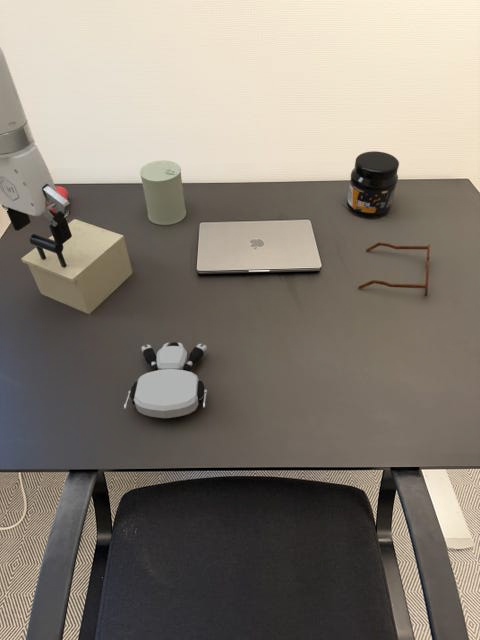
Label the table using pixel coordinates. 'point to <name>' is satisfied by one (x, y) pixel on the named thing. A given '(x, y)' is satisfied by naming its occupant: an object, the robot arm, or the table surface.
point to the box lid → (72, 250)
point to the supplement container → (372, 184)
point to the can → (163, 192)
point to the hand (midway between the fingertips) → (43, 233)
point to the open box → (87, 281)
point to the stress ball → (62, 192)
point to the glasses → (401, 284)
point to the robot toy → (169, 382)
